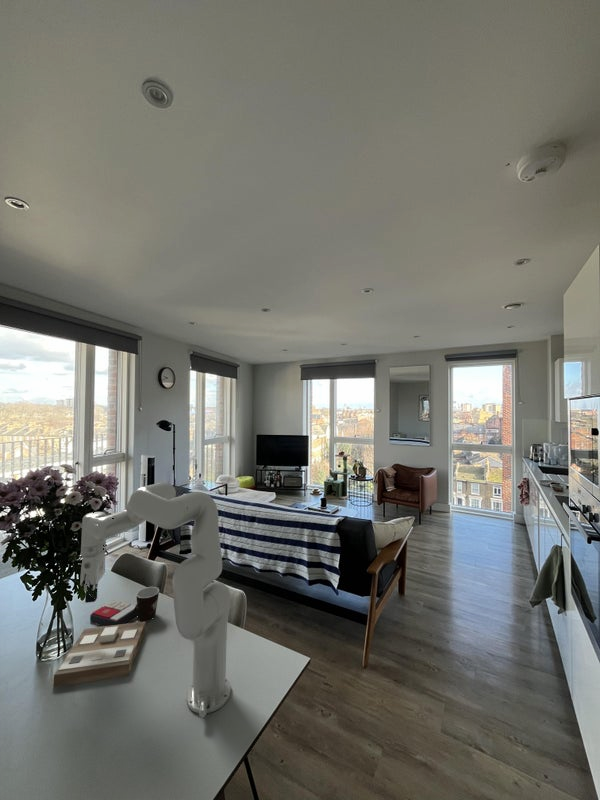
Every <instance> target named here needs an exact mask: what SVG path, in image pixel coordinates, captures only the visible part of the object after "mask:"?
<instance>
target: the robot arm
mask: <svg viewBox="0 0 600 800" xmlns="http://www.w3.org/2000/svg"><path fill="white" fill-rule="evenodd" d="M176 492H177V491H176V488H175V487H174V486H173V485H172V484H170V483H168V482H158V483H153V484H149V485H144V486H142V487H138V488H137V489H136V490H134V492H132V494H131V495H130V496H129V501H128V502H127V504H126V506H125V509H124V510H122V511H118V512H114V513H111V514H109V515H107V513H106V512H104V511H95V512H94V511H93V512H94V513H93V512H89V513H86V514H85V515H83V517H82V520H81V521H82V522H81V541H80V543H81V544H80V557H82V560H81V561H82V562H81V567H80V580H79V581H80V583H79V585H80V586H81V587H83V592H85V594H84V595H85V596H84V598H85V599H84V602H85V603H94V602H96V600H97V599H98V587H99V581H100V580H101V579H102V578H103V576H104V575H105V573H106V550H107V549H106V545H107V539H110V538H113V537H116V536H118V535H121V534H123V533H126V532H128V531H130V530H133V529H134V528H136V527H137V526H139V525H141V524H143V523H144V522H145V521H147V522H148V523H151V524H153V525H154V526H157V527H159V528H161V529H164V530H174V529H177V528H179V527H181V526H183V525H185V524H188V523H190V522H191V521H193V526H192V529H191V534H190V543H191V555H190V556H189V557H188V558H186V559H184V560H183V561H181V562H180V564H178V566H176V569H175V571H174V572H173V576H172V585H171V586H172V597H173V609H174V617H175V618H174V619H175V625H176V628H177V630H178V632H179V634H180V635H181V636H182V638H184V639H185V640H188V641H193V640H194V641H193V661H192V684H191V685H190V686H189V688H188V690H187V693H186V705H187V707H188V709H190V710H191V711H192V712H194V713H197V714H198V716H199V717H200V718H205V716H207V714H209V713H214V712H215V711H217V710H219V709H220V708H222V707H223V706H224V705H225V704H226V703H227V702H228V700H229V698H230V696H231V690H232V689H231V688H232V687H231V684H230V681H229V679H228V678H226V676H227V675H226V673H227V668H226V667H227V637H228V622H229V614H230V611H231V610H230V609H231V601H232V600H231V592H230V589H229V588H228V587H227V585H225V584H224V583H223V582H220V581H215V580H216V579H217V578H218V577H219V576H220V575H221V574H222V571H223V559H222V558H223V557H222V548H221V539H220V538H221V536H220V529H219V511H218V507H217V503H216V501H215V500H214V498H212V496H210V495H209V494H208V493H205V492H203V491H193V492H189V493H185V494H182V495H181V494H180V495H179V496H176V494H177V493H176ZM111 516H112V517H113V518H114V519H112V517H111ZM103 545H104V546H105V549H104V550H103V548H104V546H103ZM84 580H85V584H84V582H83V581H84ZM214 581H215V582H214ZM86 584H87V585H86ZM87 586H88V587H89V588H90V589H92V591H93V592H94V595H95V599H94V598H93V597H91V596H90V595H89V594H88V592H87V591H88V590H87Z"/></svg>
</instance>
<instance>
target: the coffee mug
mask: <svg viewBox="0 0 600 800" xmlns="http://www.w3.org/2000/svg"><path fill="white" fill-rule="evenodd" d="M159 594H160V589H159V587H156V586H148V587H144V588H142V589H140V590H138V591H137V592H136V594H135V596H136V606H135V608H134V614H135V615H137V616H138V617H137V620H138V621H139V622H145V621H147V622H150V621H152V620H153V619H155V618H156V615H157V614H156V613H157V608H158V603H159V601H158V600H159ZM136 608H137V609H138V614H137V613H136ZM155 614H156V615H155ZM152 618H153V619H152ZM151 619H152V620H151ZM149 620H150V621H149Z"/></svg>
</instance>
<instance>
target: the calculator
mask: <svg viewBox="0 0 600 800" xmlns="http://www.w3.org/2000/svg"><path fill="white" fill-rule="evenodd" d="M136 605H137V604H136ZM136 605H135V604H131V603H129V602H125V601H119V600H116V599H113V600H112V601H110V602H108V603H107V604H105V605H103V606H100V607H99V608H98V609H96V610H94V611H92V613H91V614H90V616H89V619H90V620H89V621H90V622H91V623H92V624H95V625H99V626H101V627H103V626H112V625H120V624H128V623H131V622H133V620H135V619H136V618H138V617H137V615H135V614H134V608H135V606H136ZM136 613H137V614H138V609H137V608H136ZM135 617H136V618H135ZM134 618H135V619H134Z"/></svg>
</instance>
